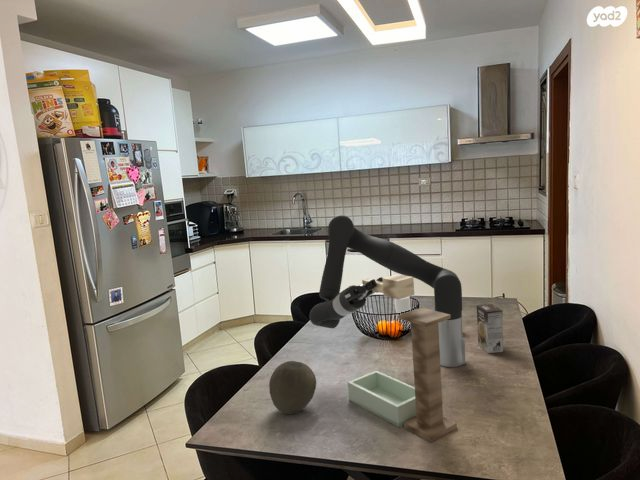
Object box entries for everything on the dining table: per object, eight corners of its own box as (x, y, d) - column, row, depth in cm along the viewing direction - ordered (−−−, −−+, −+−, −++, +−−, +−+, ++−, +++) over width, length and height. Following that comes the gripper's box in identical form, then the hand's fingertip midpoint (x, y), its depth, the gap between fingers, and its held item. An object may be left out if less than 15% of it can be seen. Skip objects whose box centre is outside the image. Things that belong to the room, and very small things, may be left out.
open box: (349, 400, 150) (347, 382, 149) (377, 387, 157) (376, 370, 156) (398, 427, 132) (397, 407, 131) (428, 412, 139) (427, 392, 138)
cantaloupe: (300, 426, 137) (296, 376, 135) (262, 416, 145) (257, 369, 143) (326, 403, 149) (322, 358, 147) (289, 395, 156) (285, 352, 154)
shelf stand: (404, 427, 132) (397, 315, 127) (428, 414, 138) (423, 307, 133) (431, 442, 124) (425, 323, 119) (456, 428, 129) (451, 314, 125)
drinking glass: (412, 327, 212) (411, 294, 210) (410, 332, 206) (408, 299, 203) (397, 327, 214) (395, 294, 212) (395, 332, 208) (392, 298, 206)
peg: (358, 289, 143) (357, 273, 142) (373, 285, 146) (372, 269, 145) (398, 299, 129) (397, 281, 128) (414, 294, 132) (413, 276, 132)
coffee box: (477, 345, 186) (475, 304, 184) (493, 343, 187) (492, 303, 184) (487, 353, 177) (486, 311, 175) (504, 351, 178) (503, 309, 175)
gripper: (327, 294, 150) (355, 274, 136) (361, 285, 158) (391, 265, 144) (335, 317, 148) (365, 298, 134) (369, 306, 155) (401, 288, 142)
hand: (378, 281), depth 139 cm, fingers closed on peg, 2 cm apart
